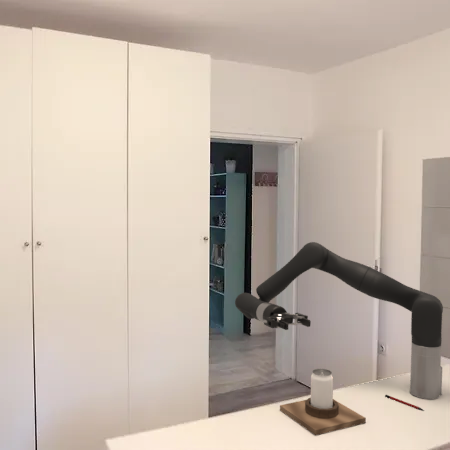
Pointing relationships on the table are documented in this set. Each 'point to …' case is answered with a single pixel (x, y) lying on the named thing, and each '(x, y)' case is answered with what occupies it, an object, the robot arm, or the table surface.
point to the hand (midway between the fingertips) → (298, 325)
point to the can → (322, 389)
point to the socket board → (322, 423)
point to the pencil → (404, 402)
